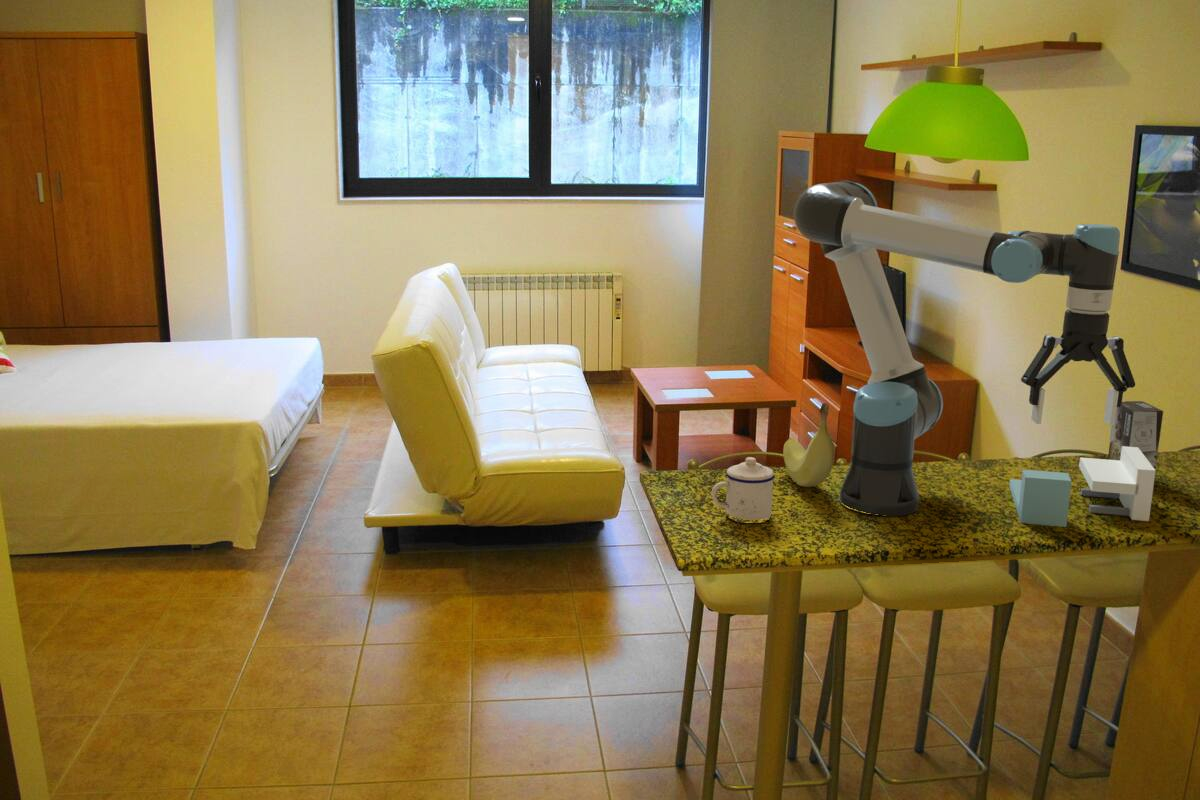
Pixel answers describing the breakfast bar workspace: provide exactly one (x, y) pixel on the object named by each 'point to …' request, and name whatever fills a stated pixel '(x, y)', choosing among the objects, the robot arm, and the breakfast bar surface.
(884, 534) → the breakfast bar surface
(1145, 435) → the coffee box
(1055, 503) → the light blue l-bracket
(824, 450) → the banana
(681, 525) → the breakfast bar surface
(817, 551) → the breakfast bar surface
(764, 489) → the teacup with lid
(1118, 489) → the shelf
